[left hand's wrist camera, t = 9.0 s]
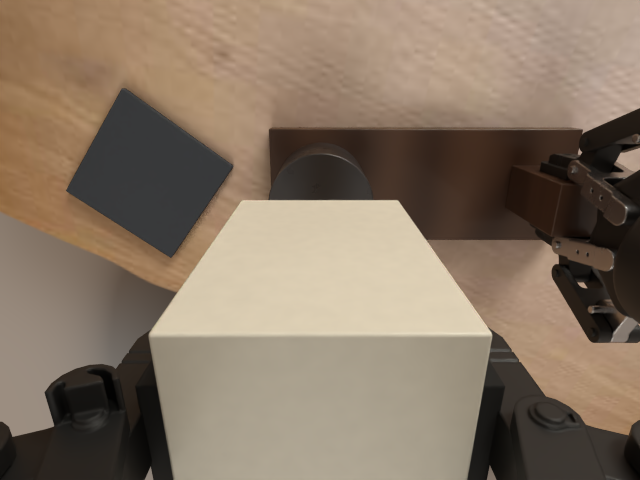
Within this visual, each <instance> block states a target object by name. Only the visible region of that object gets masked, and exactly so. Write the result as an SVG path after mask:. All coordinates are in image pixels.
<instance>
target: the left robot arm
mask: <svg viewBox="0 0 640 480" xmlns="http://www.w3.org/2000/svg"><path fill="white" fill-rule="evenodd" d="M151 330H152V329H151ZM151 330H150V331H151ZM489 330H490V331H491V333H492V341H491V347H490V353H489V358H488V364H487V370H486V375H485V381H484V387H483V392H482V398H481V404H480V409H479V415H478V421H477V427H476V432H475V438H474V444H473V449H472V455H471V461H470V466H469V472H468V478H467V480H487V476H488V471H489V466H491V468H492V470H493V473H494V475H495V477H496V479H497V480H640V420H638V421H637V422H636V423H634V424H633V425H632V427H631V430H630V433H629V436H628V435H624V434H619V433H615V432H611V431H607V430H602V429H598V428H594V427H591V426H588V425H585V423H584V422H583V420H582V419H581V417H580V415H578V414H577V413H576V412H575V411H574V410H573V409H571V408H570V407H569V406H567V405H565V404H563V403H561V402H560V401H558V400H556V399H552V398H549V397H546V396H545V395H544V393H543V392H542V391H541V389H540V388H539V387H538V385H537V384H536V382H535V381H534V380H533V378H532V377H531V376H530V374H529V373H528V372H527V370H526V369H525V367H524V366H523V365H522V363H521V362H519V359H518V358H517V357H516V355H515V354H514V352H512V351H511V348H510V347H509V346H508V344H507V343H506V342H505V340H504V339H503V337H501V336H500V335H498V334H497V333H495V332H494V331H493V330H491V329H490V328H489ZM150 331H148V332H147V333H145V334H144V335H143V336H141V337H140V338H138V339H137V341H136V342H135V343H134V345H133V346H132V348H131V349H130V350H129V353H127V355H126V356H125V357H124V359H123V360H122V363H121V364H119V365H118V367H117V368H116V369H115V368H114V367H112V366H108V365H104V364H98V365H88V366H84V367H81V368H77V369H74V370H72V371H70V372H68V373H66V374H64V375H62V376H61V377H59V378H58V379H57V380H55V381H54V382H53V383H51V385H50V386H49V387H48V389H47V390H46V391H45V396H46V399H47V402H48V406H49V409H50V412H51V416H52V419H53V422H54V427H52V428H48V429H45V430H41V431H36V432H32V433H28V434H24V435H19V436H15V437H12V435H11V432H10V429H9V427H8V426H7V425H6V424H4V423H3V422H0V480H145V477H146V475H147V473H148V471H149V469H150V466H151V469H152V474H153V479H154V480H173V474H172V468H171V462H170V457H169V451H168V445H167V440H166V434H165V428H164V422H163V417H162V411H161V405H160V400H159V394H158V388H157V382H156V377H155V371H154V365H153V360H152V354H151V348H150V342H149V333H150Z"/></svg>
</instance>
